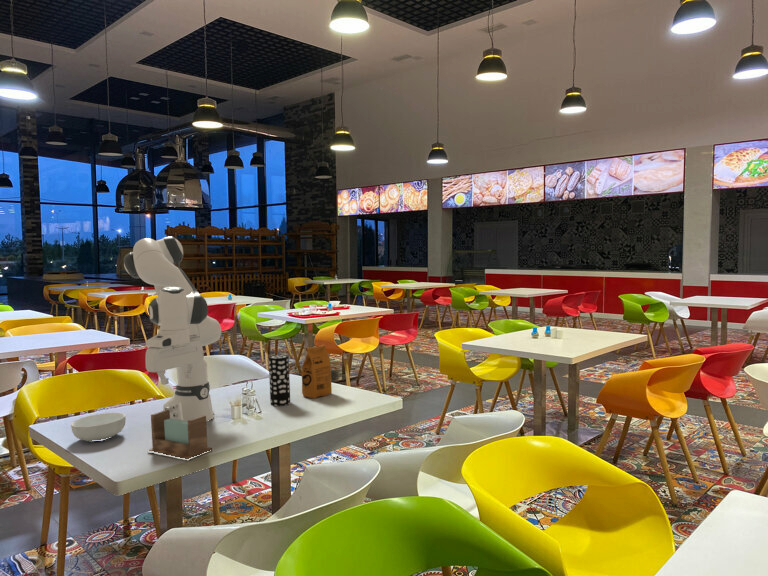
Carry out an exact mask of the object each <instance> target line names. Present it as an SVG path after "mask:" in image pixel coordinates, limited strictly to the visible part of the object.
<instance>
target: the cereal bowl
mask: <svg viewBox="0 0 768 576" xmlns="http://www.w3.org/2000/svg"><path fill="white" fill-rule="evenodd" d="M126 418H127V417H126V414H124V413H122V412H104V413H97V414H92V415H87V416H84V417H80V418H78V419H76V420H74V421H73V422H71V423H70V425H71V426H70V427H71V432H72V434H73V436H74V437H75V438H76V439H79V440H81V441H87V442H88V441H92V440H101V439H106V438H109V437H112V436H113V437H114V436H115V435H117V434H119V433H120V432H122V431H123V429H125V426H126V421H127V420H126ZM113 437H112V438H113Z"/></svg>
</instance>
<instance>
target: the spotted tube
mask: <svg viewBox="0 0 768 576" xmlns="http://www.w3.org/2000/svg"><path fill="white" fill-rule="evenodd" d="M289 360H290V357H289V355H287V354H286V355H285V354H278V355H271V356H269V357H268V373H269V375H268V376H269V396H270V397H269V398H270V406H273V407H282V406H283V407H284V406H288V405H290V404H291V386H290V385H291V384H290V383H291V382H290V361H289Z"/></svg>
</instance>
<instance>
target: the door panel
mask: <svg viewBox="0 0 768 576" xmlns="http://www.w3.org/2000/svg"><path fill="white" fill-rule="evenodd" d="M164 429H165V440H168V441H173V442H179V443H184V444H189V442H188V423H187V421H183V420H177V419H171V418H170V419H167V420H164Z"/></svg>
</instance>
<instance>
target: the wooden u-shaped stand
mask: <svg viewBox="0 0 768 576" xmlns="http://www.w3.org/2000/svg"><path fill="white" fill-rule="evenodd" d="M167 419H170V410H165V411H163V410H161V411H158V412H156V413H152V414H150V423H151V424H150V426H151V444H152V448H150V449H148V450H149V451H154V452H158V453H163V454H166V455H171V456H175V457H180V458H185V459H189V458H191V457H194V456H197V455H200V454H202V453H204V452H207V451H210V450H212V451H213V447H209V446H208V430H207V429H208V428H207V422H206V416H205V415H203V416H200V417H197V418H194V419H191V420H188V421H187V423H188V442H189V444H184V443H179V442H173V441H168V440H165V429H164V420H167Z"/></svg>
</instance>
